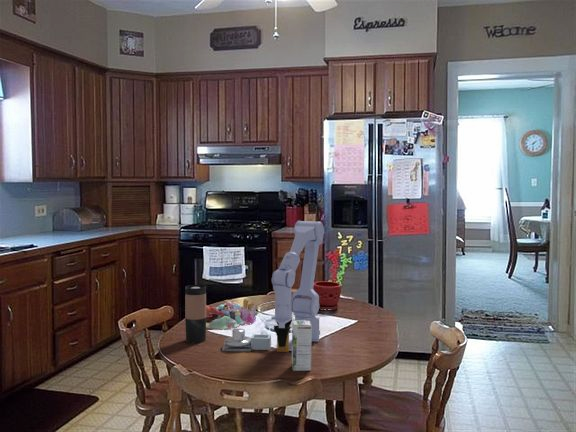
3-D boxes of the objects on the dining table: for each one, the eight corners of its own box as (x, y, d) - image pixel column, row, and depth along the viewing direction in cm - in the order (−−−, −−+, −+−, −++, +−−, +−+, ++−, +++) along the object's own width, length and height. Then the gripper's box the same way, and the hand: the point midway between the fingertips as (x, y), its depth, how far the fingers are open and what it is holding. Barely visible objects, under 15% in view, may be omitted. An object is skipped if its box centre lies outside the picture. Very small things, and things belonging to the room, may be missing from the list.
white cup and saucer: (254, 343, 191) (254, 326, 190) (250, 351, 181) (250, 334, 180) (227, 342, 191) (227, 326, 191) (222, 351, 181) (221, 333, 181)
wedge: (277, 349, 183) (277, 329, 183) (289, 349, 183) (289, 330, 183) (277, 351, 181) (277, 331, 181) (288, 351, 181) (288, 331, 180)
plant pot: (311, 311, 239) (311, 285, 239) (314, 305, 252) (314, 280, 252) (340, 312, 237) (340, 286, 237) (341, 306, 250) (341, 281, 250)
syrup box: (291, 365, 167) (291, 320, 166) (309, 364, 168) (309, 319, 167) (292, 371, 162) (293, 324, 161) (311, 370, 162) (312, 324, 161)
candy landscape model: (209, 314, 235) (209, 293, 235) (260, 316, 232) (260, 295, 231) (190, 328, 210) (190, 306, 210) (247, 331, 207) (247, 308, 206)
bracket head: (273, 339, 196) (273, 328, 196) (269, 349, 183) (269, 338, 183) (255, 338, 196) (255, 328, 196) (250, 349, 183) (250, 338, 183)
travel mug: (210, 338, 196) (209, 285, 195) (200, 344, 189) (199, 289, 188) (191, 336, 199) (191, 284, 198) (181, 342, 192) (181, 287, 190)
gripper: (273, 299, 189) (273, 336, 189) (269, 309, 174) (269, 349, 175) (293, 300, 188) (292, 337, 189) (290, 309, 174) (290, 349, 174)
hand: (283, 343), depth 182 cm, fingers open, 7 cm apart
